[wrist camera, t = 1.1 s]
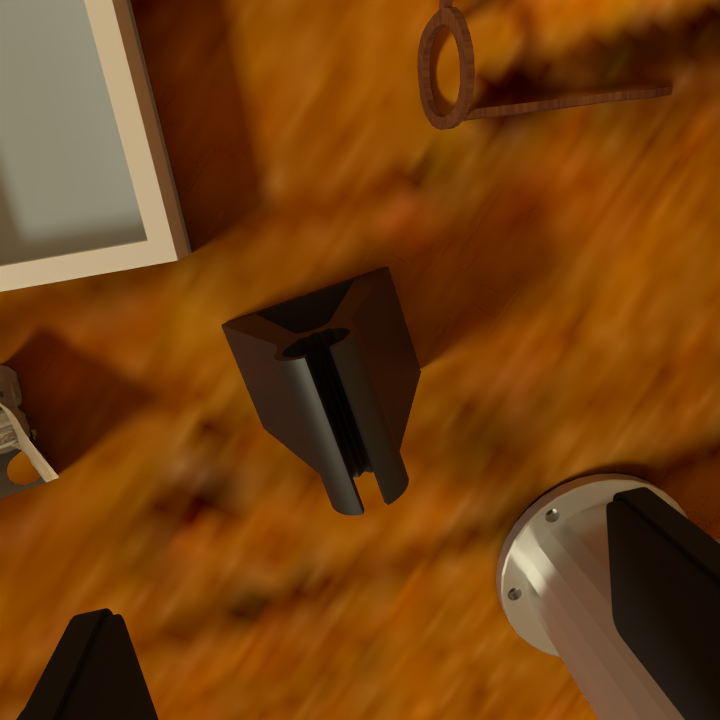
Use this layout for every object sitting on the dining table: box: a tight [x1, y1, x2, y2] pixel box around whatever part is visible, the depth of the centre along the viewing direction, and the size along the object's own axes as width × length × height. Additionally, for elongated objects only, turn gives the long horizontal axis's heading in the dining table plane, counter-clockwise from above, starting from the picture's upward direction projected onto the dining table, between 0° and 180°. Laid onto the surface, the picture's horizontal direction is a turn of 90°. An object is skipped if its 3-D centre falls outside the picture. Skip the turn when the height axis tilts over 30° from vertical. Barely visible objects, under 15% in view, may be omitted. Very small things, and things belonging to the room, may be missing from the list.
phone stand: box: [221, 267, 421, 515], centre depth 25 cm, size 9×6×12 cm, turn 108°
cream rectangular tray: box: [0, 0, 192, 292], centre depth 24 cm, size 11×14×4 cm
